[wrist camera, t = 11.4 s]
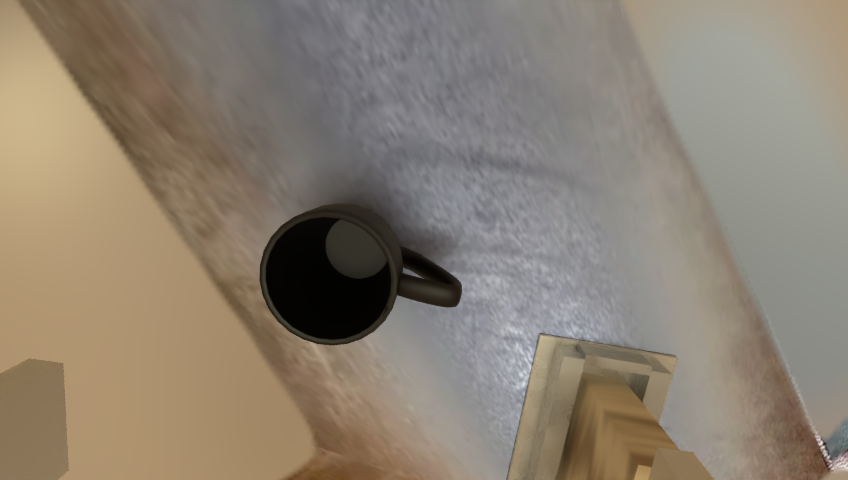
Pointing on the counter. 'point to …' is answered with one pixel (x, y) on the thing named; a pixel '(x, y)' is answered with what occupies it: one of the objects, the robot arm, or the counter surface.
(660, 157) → the counter surface
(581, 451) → the wooden block
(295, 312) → the mug
